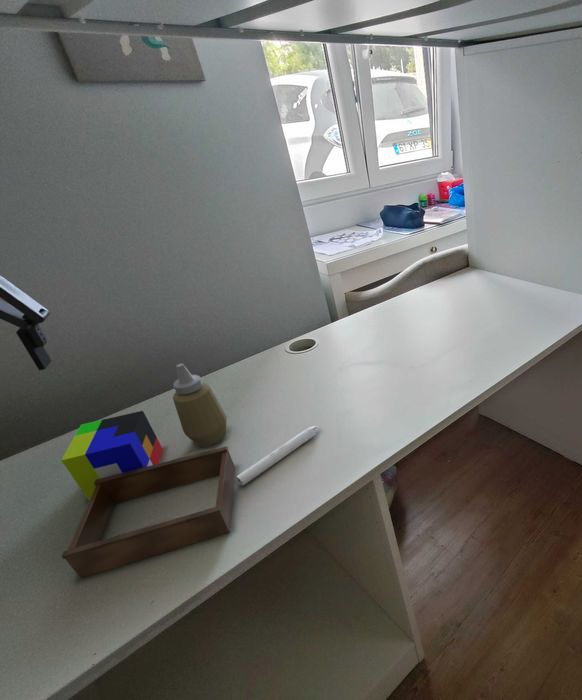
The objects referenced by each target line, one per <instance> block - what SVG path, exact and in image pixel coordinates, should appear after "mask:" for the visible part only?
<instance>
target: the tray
mask: <svg viewBox="0 0 582 700" xmlns="http://www.w3.org/2000/svg"><path fill="white" fill-rule="evenodd" d="M216 476H219V477H218V484H217V493H216V499H215V500H216V501H215V506H214V507H211V508H207V509H203V510H200V511H196V512H193V513H190V514H189V513H188V514H186V515H183V516H180V517H176V518H173V519H169V520H166V521H163V522H159V523H156V524H152V525H148V526H145V527H142V528H139V529H135V530H132V531H128V532H125V533H121V534H118V535H114V536H112V537H107V538H104V539H102V537H103V534H104V532H105V529H106V527H107V523H108V521H109V518H110V516H111V513H112V510H113V507H114V505H115V504H117V503H120V502H124V501H128V500H132V499H135V498H139V497H143V496H146V495H150V494H154V493H158V492H161V491H164V490H168V489H172V488H176V487H180V486H183V485H187V484H191V483H194V482H198V481H201V480H204V479H209V478H212V477H216ZM235 478H236V466H235V464H234V462H233V458H232V456H231V454H230V452H229V447H228V446H227V445H225V446H221V447H217V448H214V449H210V450H206V451H202V452H198V453H194V454H190V455H186V456H183V457H178V458H175V459H171V460H167V461H163V462H159V464H155V465H151V466H147V467H143V468H140V469H136V470H132V471H128V472H124V473H120V474H116V475H112V476H108V477H105V478H101V479H97V480H95V482H94V485H95V486H96V487H95V489H94V491H93V494H92V496H91V498H90V500H88V503H87V505H86V507H85V509H84V512H83V515H82V516H81V519H80V521H79V523H78V526H77V527H76V530H75V532H74V535H73V537H72V539H71V542H70V544H69V547H68V548H67V549H66V550H64V551H63V552H62V555H61V557H60V558H62V560H65V561H66V562H67V563H68V565H69V566H70V568H72V570H73V571H74V572H75V573H76V574H77V576H78V577H79V578H80V579H83V578H87V577H91V576H94V575H96V574H99V573H103V572H106V571H109V570H112V569H115V568H116V569H117V568H119V567H123V566H126V565H129V564H133V563H134V562H135V563H136V562H138V561H141V560H144V559H148V558H152V557H154V556H158V555H161V554H164V553H168V552H170V551H174V550H176V549H181V548H183V547H187V546H190V545H193V544H196V543H197V544H198V543H200V542H203V541H206V540H210V539H213V538H216V537H219V536H221V535H226V534H229V533H230V532H231V526H232V511H233V502H234V501H233V500H234V490H235V489H234V488H235Z"/></svg>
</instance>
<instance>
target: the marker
mask: <svg viewBox="0 0 582 700" xmlns="http://www.w3.org/2000/svg"><path fill="white" fill-rule="evenodd" d="M319 429H320V426H319V425H312V426H308V427H307V428H305V429H304V430H303V431H302V432H299V433H298V434H297V435H295V436H294V437H292V438H291V439H289V440H287V442H285V443H283V444H282V445H280V446H279V447H277V448H275V450H273V451H272V452H270V453H269V454H267V455H265V456H264V457H263V458H262V459H260V460H258V461H256V462H255V463H254V464H252V465H251V466H249V467H248V468H247V469H245V470H244V471H242V472H241V473H239V474H238V475H237V476H235V478H236V481H237V483H238V484H239V485H240V486H242V487H243V486H245V485H247V484H248V483H249V482H251V481H252V480H254V479H255V478H256V477H258V476H259V475H261V474H262V473H264V472H265V471H266V470H267V469H269V468H270V467H272V466H274V465H275V464H276V463H278V462H279V461H280V460H282V459H283V458H285V457H286V456H288V455H289V454H290V453H292V452H293V451H295V450H296V449H298V448H299V447H300V446H303V444H305V443H307V442H308V441H309V440H310V439H312V438H313V437H314V436H315V435H316V434H317V433H318V431H319Z"/></svg>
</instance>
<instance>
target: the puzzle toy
mask: <svg viewBox="0 0 582 700" xmlns="http://www.w3.org/2000/svg"><path fill="white" fill-rule="evenodd" d="M163 450H164V449H163V447H162V445H161V443H160V441H159V438H158V437H157V435H156V433H155V431H154V429H153V427H152V426H151V424H150V422H149V420H148V417H147V416H146V414H145V412H144V410H140V411H135V412H130V413H126V414H122V415H117V416H112V417H109V418H104V419H99V420H96V421H90V422H86V423H82V424H80V426H79V427H78V429H77V431H76V433H75V434H74V436H73V439H72V440H71V441H70V444H69V445H68V447H67V449H66V451H65V452H64V454H63V456H62V457H61V462H62V465H64V467H65V468H66V469H67V471H68V473H69V474H70V476H71V477H72V478H73V479H74V481H75V483H76V484H77V485H78V487H79V489H80V490H81V492H82V493H83V494H84V496H85V497H86V498H87V500H88V501H89V500H90V498H91V496H92V494H93V491H94V489H95V487H96V486H95V485H94V482H95V480H97V479H101V478H105V477H108V476H112V475H116V474H120V473H124V472H128V471H132V470H136V469H140V468H143V467H147V466H151V465H155V464H159V463H160V461H161V458H162V454H163Z"/></svg>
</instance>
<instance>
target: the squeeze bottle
mask: <svg viewBox="0 0 582 700" xmlns="http://www.w3.org/2000/svg"><path fill="white" fill-rule="evenodd" d="M175 367H176V375H177V379H176V380H175V381H174V382H173V385H172V386H173V389H174V390H175V392H174V393H173V396H172V400H173V402H174V406H175V409H176V413H177V416H178V419H179V422H180V426H181V428H182V432H183V433H184V435H185V436H186V437H187V438H188V439H189V440H191V441H192V442H193V443H194V444H195V445H197V446H199V447H207V446H208V447H209V446H212V445H214V444H216V443H219V442H220V441H221V440H223V439H224V438H225V436H226V435H227V420H228V416H227V415H226V413H225V411H224V410H223V407H222V405H221V404H220V402H219V401H218V399H217V397H216V395H215V393H214V391H213V390H212V388H211V386H210V385H209V384H208V383H205V382H203V381H202V378H201V376H200V375H198V374H191V372H190V371H189V370H188V368H187V367H186V366H185V365H184V363H178V364H176V366H175Z"/></svg>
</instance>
